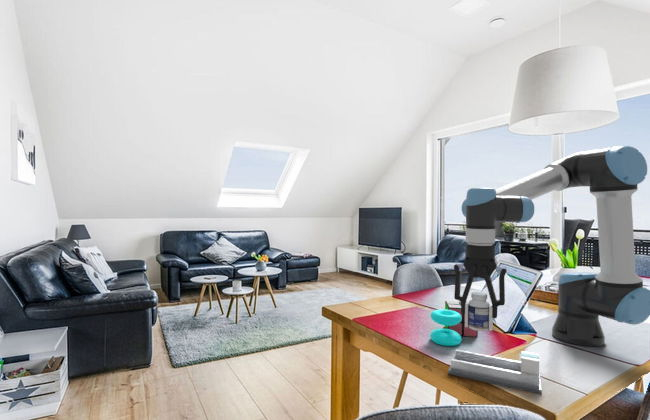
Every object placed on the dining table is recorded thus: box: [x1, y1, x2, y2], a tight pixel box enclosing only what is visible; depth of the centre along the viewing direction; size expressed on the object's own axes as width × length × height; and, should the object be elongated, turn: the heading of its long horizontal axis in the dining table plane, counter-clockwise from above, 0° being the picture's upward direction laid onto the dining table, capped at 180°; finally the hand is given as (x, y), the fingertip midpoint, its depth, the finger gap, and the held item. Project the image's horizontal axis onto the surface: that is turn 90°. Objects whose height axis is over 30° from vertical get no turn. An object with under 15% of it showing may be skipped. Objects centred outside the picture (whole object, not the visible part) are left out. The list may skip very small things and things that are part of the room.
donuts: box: [429, 308, 462, 347], centre depth 124 cm, size 10×10×10 cm
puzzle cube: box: [444, 300, 479, 338], centre depth 134 cm, size 10×10×10 cm
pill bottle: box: [468, 291, 490, 332], centre depth 102 cm, size 5×5×10 cm
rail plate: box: [447, 349, 543, 395], centre depth 100 cm, size 22×11×4 cm, turn 62°
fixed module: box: [520, 350, 540, 376], centre depth 96 cm, size 4×6×6 cm
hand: (478, 327), depth 102 cm, fingers closed on pill bottle, 5 cm apart
